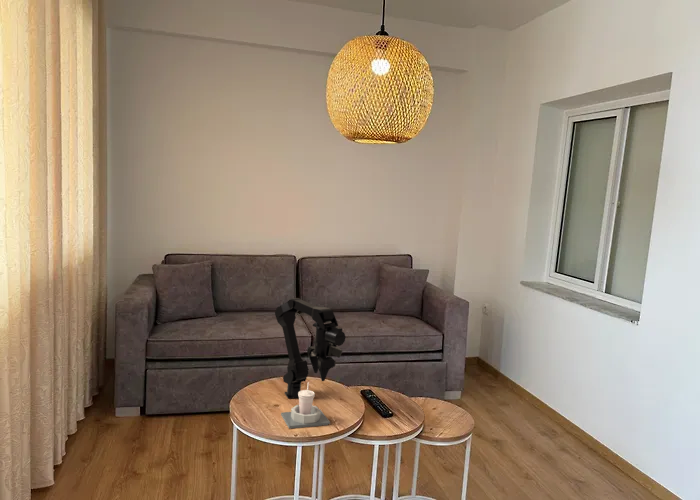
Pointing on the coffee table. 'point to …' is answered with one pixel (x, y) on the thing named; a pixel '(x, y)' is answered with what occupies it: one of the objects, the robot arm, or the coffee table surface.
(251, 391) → the coffee table surface
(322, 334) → the robot arm
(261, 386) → the coffee table surface
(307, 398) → the smoothie
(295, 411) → the bottle stand
